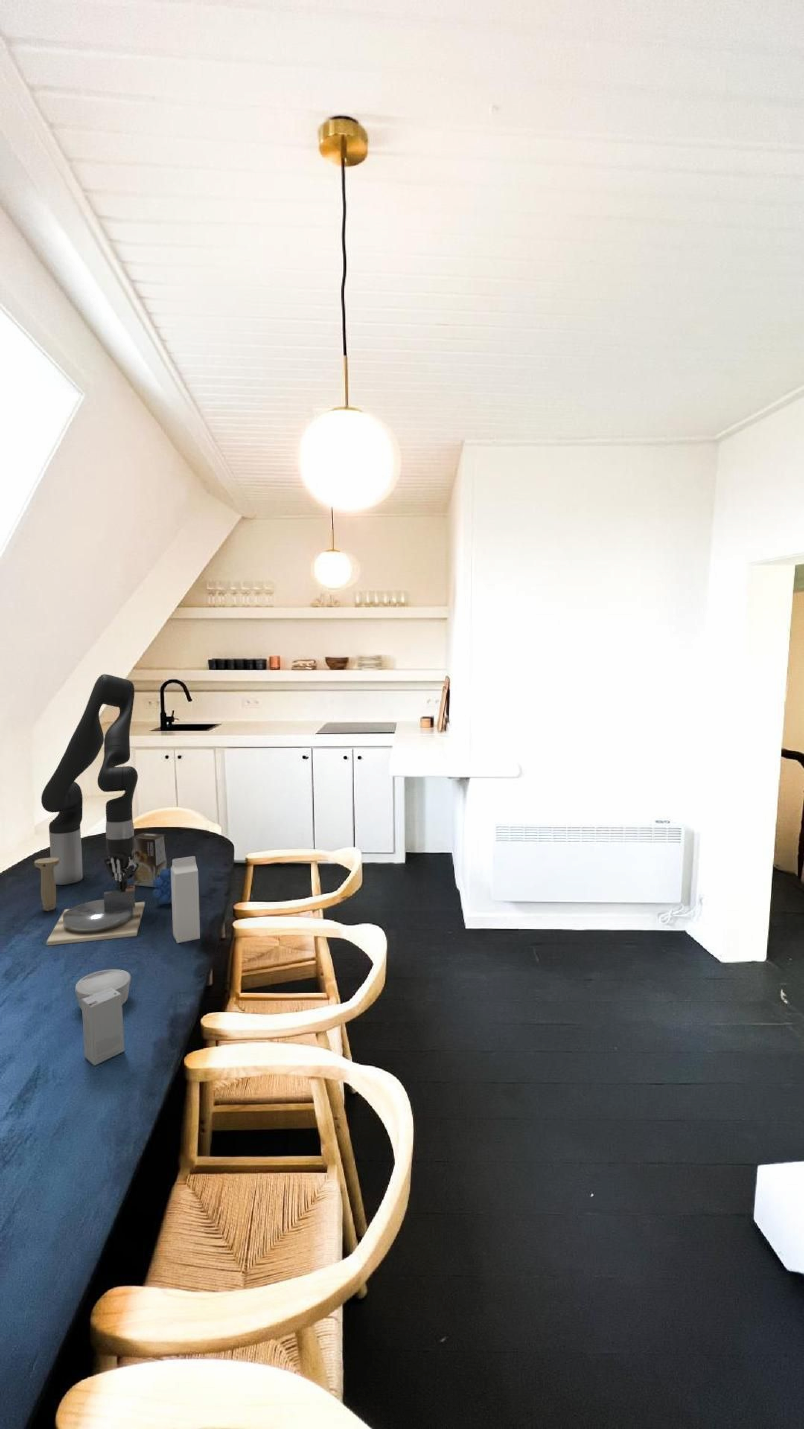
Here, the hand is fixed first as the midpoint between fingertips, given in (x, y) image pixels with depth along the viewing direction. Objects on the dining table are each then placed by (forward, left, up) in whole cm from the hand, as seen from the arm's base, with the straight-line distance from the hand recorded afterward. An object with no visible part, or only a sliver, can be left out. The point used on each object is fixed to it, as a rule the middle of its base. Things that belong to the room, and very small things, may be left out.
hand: (122, 892), depth 192 cm
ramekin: (+52, +3, -7) cm, 52 cm away
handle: (-8, -21, -7) cm, 24 cm away
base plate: (+7, -5, -6) cm, 11 cm away
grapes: (-4, +14, -7) cm, 16 cm away
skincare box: (+72, +6, -7) cm, 72 cm away
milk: (+22, +19, -7) cm, 29 cm away
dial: (+7, -5, -5) cm, 10 cm away
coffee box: (-23, +6, -7) cm, 25 cm away
